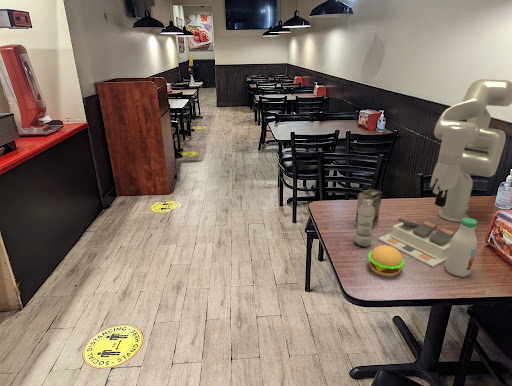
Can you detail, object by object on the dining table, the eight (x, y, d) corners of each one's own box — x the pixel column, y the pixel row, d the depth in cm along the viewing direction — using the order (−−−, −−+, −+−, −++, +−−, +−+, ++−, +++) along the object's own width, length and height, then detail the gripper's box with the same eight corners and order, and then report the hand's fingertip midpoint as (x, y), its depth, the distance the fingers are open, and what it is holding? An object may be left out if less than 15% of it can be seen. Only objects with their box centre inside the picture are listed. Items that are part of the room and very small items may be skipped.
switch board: (403, 229, 151) (405, 218, 149) (458, 253, 132) (461, 241, 130) (377, 239, 142) (379, 228, 140) (432, 268, 123) (435, 255, 121)
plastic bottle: (372, 249, 135) (378, 202, 128) (354, 247, 136) (359, 201, 129) (370, 241, 141) (376, 196, 134) (353, 239, 142) (358, 194, 135)
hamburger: (361, 260, 128) (364, 240, 125) (393, 259, 129) (396, 239, 126) (374, 280, 117) (377, 258, 114) (408, 278, 118) (412, 257, 114)
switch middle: (425, 223, 140) (425, 220, 139) (436, 228, 136) (437, 225, 135) (412, 232, 137) (412, 230, 136) (424, 237, 133) (424, 235, 132)
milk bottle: (458, 279, 117) (472, 227, 110) (439, 267, 124) (451, 217, 116) (474, 274, 120) (488, 222, 112) (454, 262, 126) (467, 213, 119)
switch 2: (441, 230, 135) (441, 227, 134) (454, 235, 131) (454, 232, 130) (429, 240, 131) (429, 237, 131) (441, 245, 128) (442, 243, 127)
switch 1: (408, 222, 146) (409, 219, 146) (418, 226, 142) (420, 223, 142) (398, 220, 141) (399, 217, 141) (408, 225, 137) (410, 222, 137)
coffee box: (366, 231, 149) (371, 197, 143) (354, 226, 153) (358, 192, 147) (378, 225, 154) (383, 191, 148) (365, 220, 159) (369, 187, 153)
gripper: (451, 154, 132) (442, 198, 138) (427, 159, 125) (418, 206, 131) (471, 158, 126) (460, 204, 133) (447, 164, 119) (436, 213, 125)
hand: (439, 205), depth 132 cm, fingers closed
